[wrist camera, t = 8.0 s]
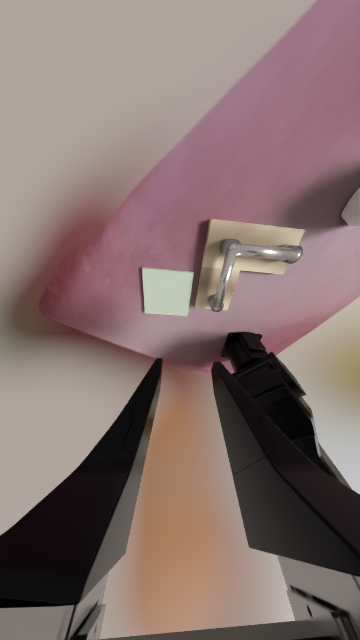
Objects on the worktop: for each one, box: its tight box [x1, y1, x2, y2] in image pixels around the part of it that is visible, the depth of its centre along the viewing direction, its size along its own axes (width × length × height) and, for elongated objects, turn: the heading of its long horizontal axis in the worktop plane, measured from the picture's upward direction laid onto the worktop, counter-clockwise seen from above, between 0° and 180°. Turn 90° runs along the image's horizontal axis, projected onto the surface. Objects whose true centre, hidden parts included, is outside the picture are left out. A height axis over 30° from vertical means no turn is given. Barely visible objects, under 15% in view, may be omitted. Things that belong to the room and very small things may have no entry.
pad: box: [142, 267, 194, 316], centre depth 20 cm, size 7×7×1 cm
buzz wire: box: [195, 219, 305, 312], centre depth 17 cm, size 11×11×4 cm
